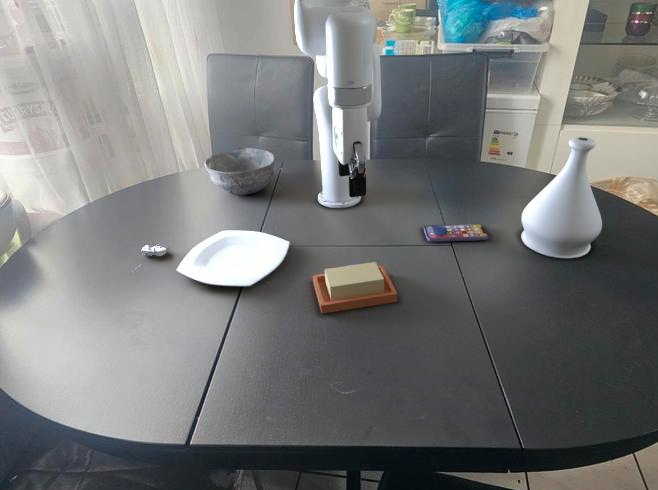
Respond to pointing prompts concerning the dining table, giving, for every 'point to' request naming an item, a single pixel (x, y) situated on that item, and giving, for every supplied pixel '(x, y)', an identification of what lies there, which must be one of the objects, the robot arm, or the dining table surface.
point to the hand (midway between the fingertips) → (351, 185)
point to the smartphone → (455, 232)
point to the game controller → (153, 250)
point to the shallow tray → (352, 303)
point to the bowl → (241, 170)
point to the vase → (564, 209)
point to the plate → (234, 258)
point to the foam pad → (354, 281)
